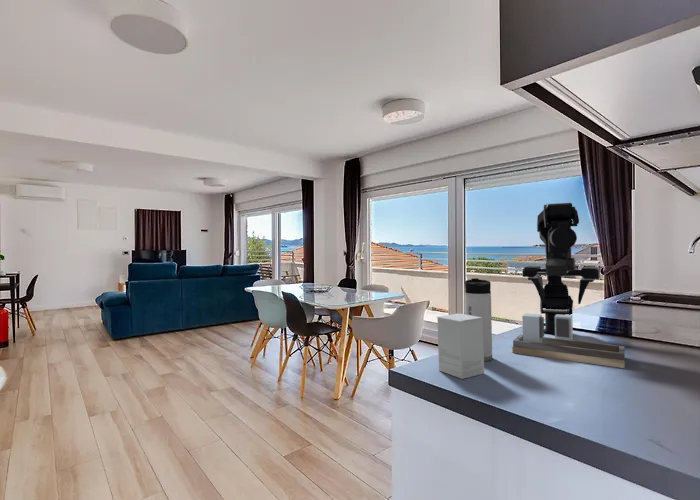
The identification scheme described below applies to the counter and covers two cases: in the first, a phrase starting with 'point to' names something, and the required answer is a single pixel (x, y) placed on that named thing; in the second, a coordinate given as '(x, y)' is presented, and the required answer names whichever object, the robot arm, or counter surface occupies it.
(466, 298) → the travel mug
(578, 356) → the rail
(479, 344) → the supplement box
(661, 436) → the counter surface
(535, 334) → the block
